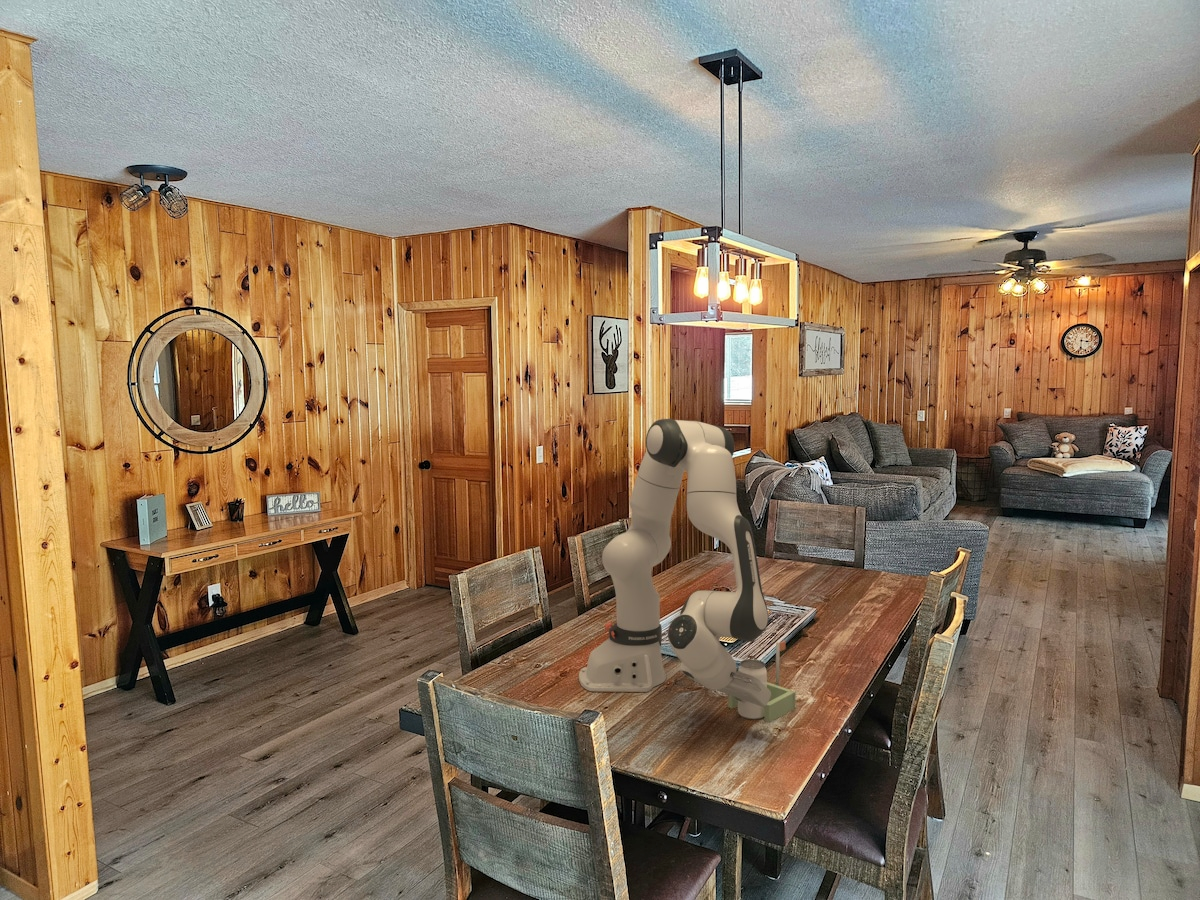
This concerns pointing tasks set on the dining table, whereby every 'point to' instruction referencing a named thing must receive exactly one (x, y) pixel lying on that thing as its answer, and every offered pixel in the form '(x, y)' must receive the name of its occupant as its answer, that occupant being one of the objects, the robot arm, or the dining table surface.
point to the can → (759, 672)
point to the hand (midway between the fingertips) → (741, 698)
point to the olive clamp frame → (774, 694)
